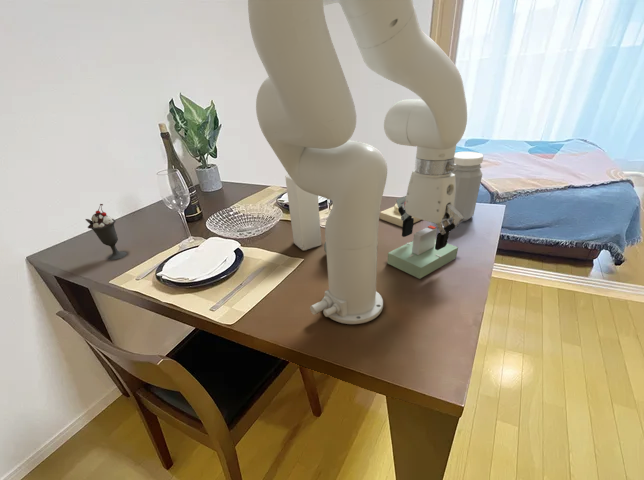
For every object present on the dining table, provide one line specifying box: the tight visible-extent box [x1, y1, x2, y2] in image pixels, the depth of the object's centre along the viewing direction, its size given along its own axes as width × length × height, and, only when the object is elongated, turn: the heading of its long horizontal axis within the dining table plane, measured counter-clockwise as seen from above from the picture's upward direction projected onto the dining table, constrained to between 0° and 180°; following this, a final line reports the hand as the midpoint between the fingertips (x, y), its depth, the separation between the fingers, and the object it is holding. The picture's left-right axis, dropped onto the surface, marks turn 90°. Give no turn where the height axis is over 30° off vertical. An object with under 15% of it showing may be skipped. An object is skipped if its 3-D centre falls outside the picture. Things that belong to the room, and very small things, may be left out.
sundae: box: [85, 203, 128, 261], centre depth 91 cm, size 7×7×15 cm
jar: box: [448, 151, 484, 223], centre depth 97 cm, size 10×10×18 cm
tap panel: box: [386, 238, 459, 280], centre depth 81 cm, size 14×10×3 cm
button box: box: [379, 202, 423, 228], centre depth 103 cm, size 12×10×4 cm
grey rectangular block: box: [412, 224, 438, 255], centre depth 79 cm, size 6×2×5 cm, turn 127°
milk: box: [284, 173, 322, 252], centre depth 87 cm, size 6×6×22 cm
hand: (422, 241), depth 78 cm, fingers open, 9 cm apart
